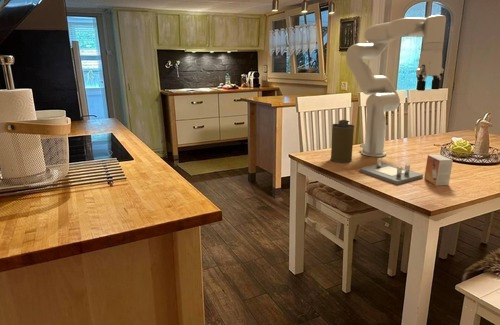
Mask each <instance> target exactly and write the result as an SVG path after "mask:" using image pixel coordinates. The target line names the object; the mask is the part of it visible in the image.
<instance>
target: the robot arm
mask: <svg viewBox="0 0 500 325" xmlns="http://www.w3.org/2000/svg"><path fill="white" fill-rule="evenodd" d="M446 22H447V17H446V15H444V14H443V15H441V14H435V15H430V16H427V17H404V18H403V17H402V18H399V19H395V20H392V21H390V22H384V23H383V22H382V23H378V24H374V25H373V24H372V25H370V26H369V27H367V28H366V30H365V31H364V35H363V36H364V39H365V41H366V42H367V43H363V42H362V43H359V42H358V43H355V44H352V45H350V46H349V47H348V49H347V51H346V54H345V57H346V58H345V60H346V64H347V66H348V69H349V70H350V71H351V73H352V74H353V76H354V78H355V81H356V82H357V84H358V86H359V88H360V90H361V92H362V93H363V94H364V95H368V97H367V98H366V102H365V106H366V107H365V108H366V126H365V137H364V142H362V143H361V144H360V145H359V148H362V150H361V151H360V154H362V155H363V156H365V157H373V158H379V157H380V158H381V157H384V156H385V157H386V156H387V151H385V149H384V148H385V138H386V129H387V118H386V115H385V112H392V111H395V110H397V109H399V107H400V104H401V99H400V96H399V94H398V92H397V90H396V88H395V86H394V85H393V82H392V81H391V80H390V78H389V77H388V76H386V75H375V74H374V73H373V70H372V69H371V68H370V66H369V65H368V64H367V63H366V62H364V61H374V60H376V59H378V58H379V57H380V56H381V54H382V53H383V52H384V51H385V49H386V48H387V47H388V46H389V45H390V43H391V42H395V40H397V39H398V38H407V37H409V38H411V37H412V38H413V37H415V38H422V47H421V48H422V49H421V52H420V56H419V59H418V65H417V69H416V70H415V74H416V80H417V86H416V87H417V88H416V90H417V91H418V92H420V91H421V92H423V91H425V90H426V83H427V82H426V79H427V77H432V80H431V88H430V89H431V90H440V82H441V80H442V76H443V73H444V71H445V69H444V68H443V50H444V39H445V33H446V32H445V31H446Z"/></svg>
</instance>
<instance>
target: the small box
mask: <svg viewBox="0 0 500 325" xmlns="http://www.w3.org/2000/svg"><path fill="white" fill-rule="evenodd" d="M453 162H454V161H453V159H451V158H448V157H446V156H444V155H442V154H428V155H427V159H426V166H425V171H424V176H423V179H424V180H425V181H427V182H429V183H431V185H434V186H435V187H437V186H449V184H450V180H451V173H452V168H453Z"/></svg>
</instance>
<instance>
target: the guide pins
mask: <svg viewBox="0 0 500 325" xmlns="http://www.w3.org/2000/svg"><path fill="white" fill-rule="evenodd" d="M376 159H377V160H376V164H377V168H381V163H382V161H383V160H382V158H381V157H380V158H379V157H377V158H376ZM404 167H405V168H404V169H405V173H404V174H405V175H409V171H411V165H410V164H405V166H404ZM402 168H403V167H402V166H399V165H398V166H397V175H396V176H397V177H401V173H402Z"/></svg>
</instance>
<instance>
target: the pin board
mask: <svg viewBox="0 0 500 325" xmlns="http://www.w3.org/2000/svg"><path fill="white" fill-rule="evenodd" d="M397 167H398V166H397V165H393V164H391V163H387V162H381V168H377V163H376V164H372V165H369V166H368V165H367V166H364V167H359V169H358V172H359V173H363V174H365V175H367V176H371V177H373V178H376V179H379V180H382V181H385V182H387V183H390V184H394V185H396V186H398V185H401V184H405V183H409V182H412V181H416V180H420V179H424V174H423V173H420V172H416V171H413V170H410V171H409V175H405V174H404V173H405V168H403V167H402V173H401V177H397V176H396V175H397Z"/></svg>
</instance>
